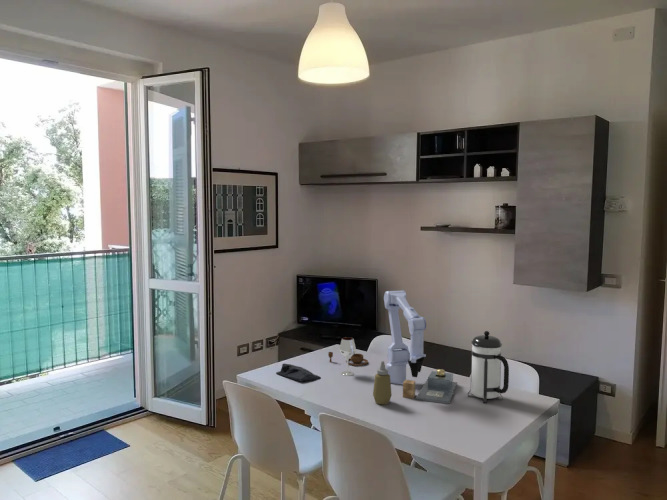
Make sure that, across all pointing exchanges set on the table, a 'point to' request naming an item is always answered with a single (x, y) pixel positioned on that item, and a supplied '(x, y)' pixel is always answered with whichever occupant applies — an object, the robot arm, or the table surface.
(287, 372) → the dark grey cloth
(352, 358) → the place setting
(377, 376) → the squeeze bottle
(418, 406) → the table surface
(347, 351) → the wineglass
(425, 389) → the base
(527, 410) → the table surface
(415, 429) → the table surface
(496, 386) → the coffee press
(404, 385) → the oak block
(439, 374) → the pin
